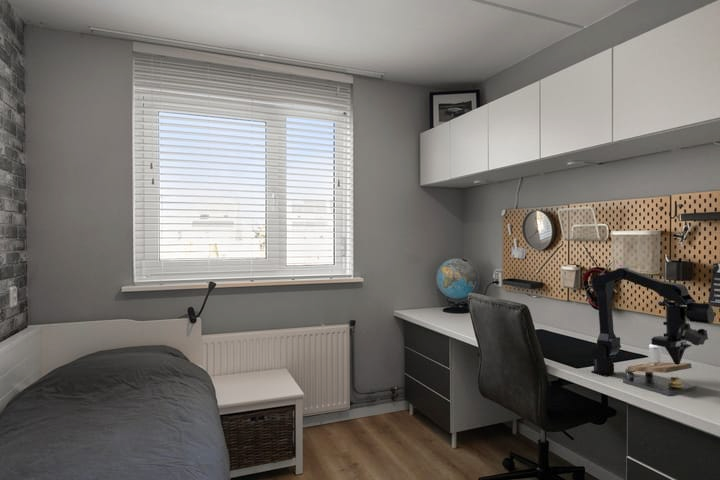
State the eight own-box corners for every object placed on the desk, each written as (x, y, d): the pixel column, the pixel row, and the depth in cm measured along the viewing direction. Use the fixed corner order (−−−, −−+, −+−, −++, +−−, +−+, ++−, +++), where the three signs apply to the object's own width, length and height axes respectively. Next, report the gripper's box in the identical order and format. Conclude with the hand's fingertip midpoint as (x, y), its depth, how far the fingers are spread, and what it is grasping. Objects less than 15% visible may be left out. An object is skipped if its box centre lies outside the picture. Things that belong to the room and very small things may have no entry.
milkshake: (665, 367, 180) (665, 343, 180) (650, 366, 182) (650, 342, 182) (662, 364, 184) (662, 341, 185) (648, 363, 186) (647, 340, 186)
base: (622, 382, 162) (622, 370, 162) (650, 376, 168) (649, 365, 168) (668, 396, 147) (668, 383, 147) (697, 389, 153) (697, 376, 153)
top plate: (625, 373, 162) (623, 364, 162) (649, 368, 167) (647, 359, 168) (667, 375, 148) (665, 365, 149) (692, 370, 153) (690, 360, 154)
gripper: (684, 325, 141) (685, 373, 140) (718, 321, 148) (719, 366, 148) (649, 320, 151) (650, 365, 151) (683, 316, 158) (684, 359, 158)
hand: (677, 364), depth 152 cm, fingers closed
